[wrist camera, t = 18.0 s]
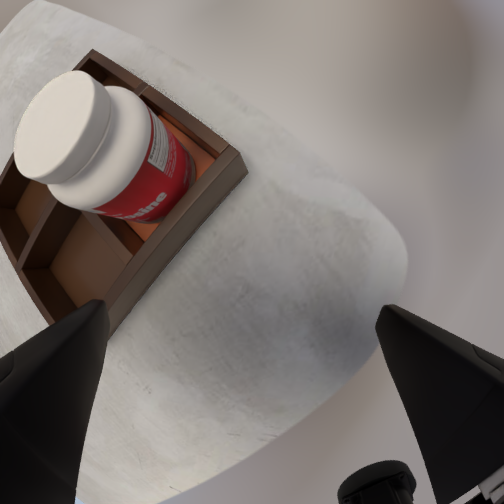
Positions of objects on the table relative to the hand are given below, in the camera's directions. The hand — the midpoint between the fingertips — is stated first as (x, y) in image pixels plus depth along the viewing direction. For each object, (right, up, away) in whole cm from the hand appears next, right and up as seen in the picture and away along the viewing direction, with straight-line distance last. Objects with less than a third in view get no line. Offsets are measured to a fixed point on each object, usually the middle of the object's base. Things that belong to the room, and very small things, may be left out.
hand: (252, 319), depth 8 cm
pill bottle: (-7, +7, +11) cm, 14 cm away
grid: (-12, +7, +12) cm, 18 cm away
